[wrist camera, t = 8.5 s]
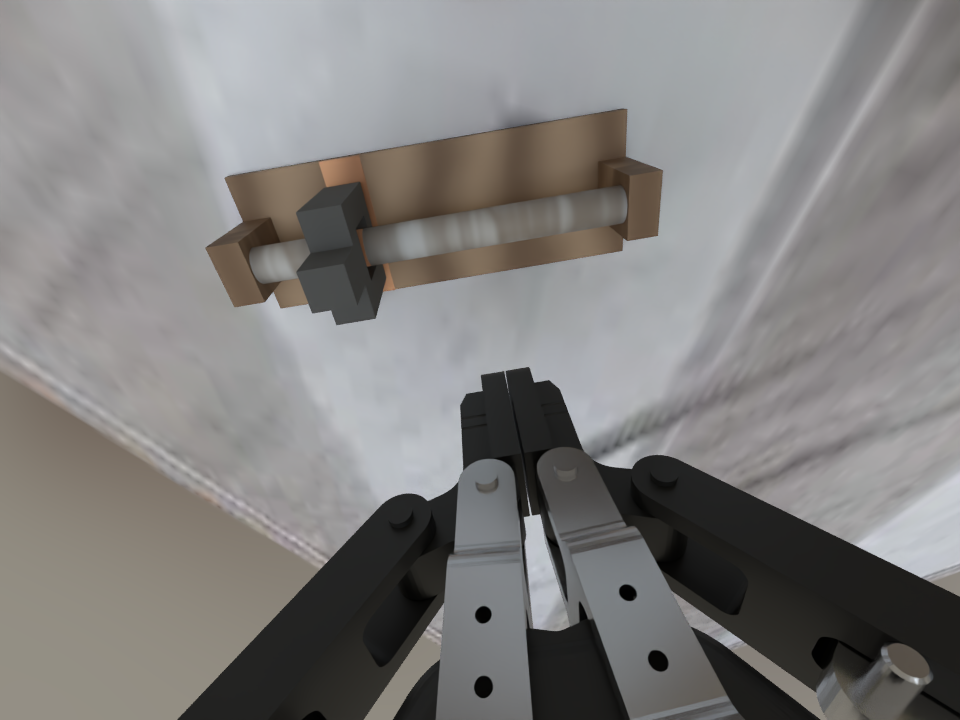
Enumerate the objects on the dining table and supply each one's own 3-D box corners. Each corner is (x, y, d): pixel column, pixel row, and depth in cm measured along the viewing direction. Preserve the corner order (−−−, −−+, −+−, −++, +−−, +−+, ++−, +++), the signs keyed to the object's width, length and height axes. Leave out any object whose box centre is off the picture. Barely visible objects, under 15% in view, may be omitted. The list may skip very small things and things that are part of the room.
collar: (360, 181, 30) (329, 218, 21) (386, 277, 33) (369, 342, 25) (323, 187, 30) (278, 227, 21) (354, 283, 33) (326, 349, 25)
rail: (622, 108, 30) (667, 113, 25) (619, 247, 36) (654, 278, 30) (229, 175, 31) (179, 196, 25) (283, 304, 36) (253, 346, 30)
